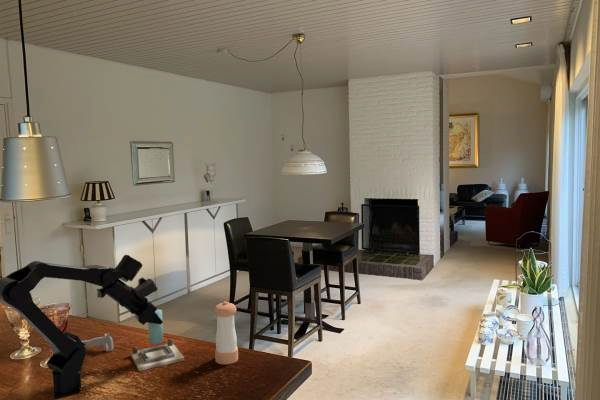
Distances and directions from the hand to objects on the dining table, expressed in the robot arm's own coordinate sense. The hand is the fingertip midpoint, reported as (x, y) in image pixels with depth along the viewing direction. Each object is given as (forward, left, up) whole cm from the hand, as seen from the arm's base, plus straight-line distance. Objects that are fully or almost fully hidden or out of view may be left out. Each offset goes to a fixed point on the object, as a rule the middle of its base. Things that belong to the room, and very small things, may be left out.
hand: (159, 320), depth 151 cm
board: (-1, 0, -12) cm, 12 cm away
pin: (-1, 0, -7) cm, 7 cm away
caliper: (-21, +20, -13) cm, 31 cm away
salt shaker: (+18, -13, -12) cm, 25 cm away
